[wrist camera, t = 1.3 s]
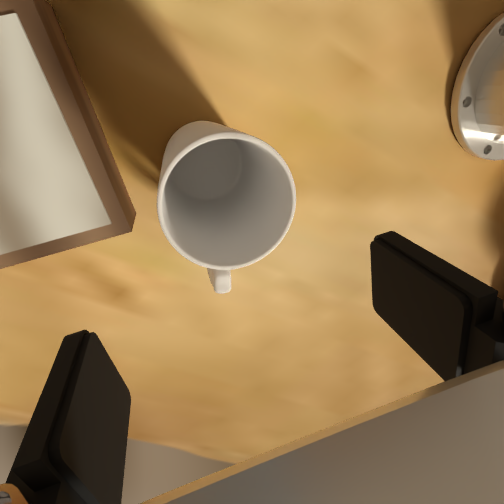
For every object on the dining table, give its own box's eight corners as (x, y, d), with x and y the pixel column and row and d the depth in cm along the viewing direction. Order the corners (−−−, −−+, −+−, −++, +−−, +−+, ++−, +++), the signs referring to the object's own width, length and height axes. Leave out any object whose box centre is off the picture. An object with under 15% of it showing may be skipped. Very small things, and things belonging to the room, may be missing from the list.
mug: (158, 113, 24) (153, 127, 13) (247, 119, 25) (305, 136, 15) (163, 239, 28) (162, 326, 17) (240, 237, 30) (280, 316, 19)
